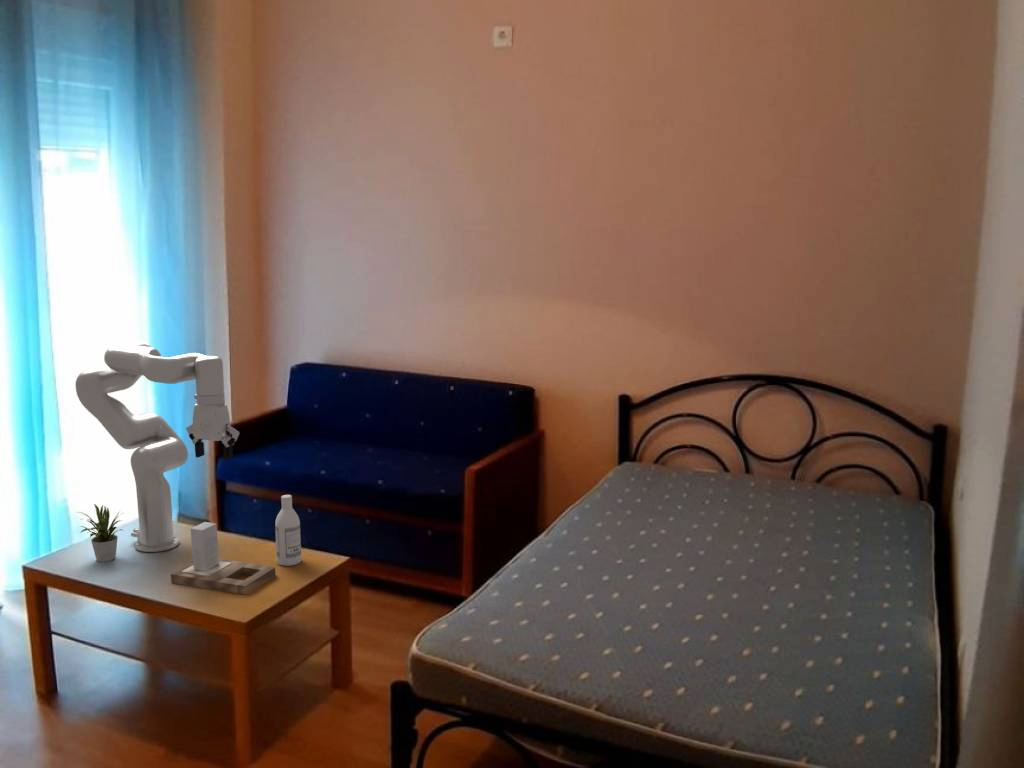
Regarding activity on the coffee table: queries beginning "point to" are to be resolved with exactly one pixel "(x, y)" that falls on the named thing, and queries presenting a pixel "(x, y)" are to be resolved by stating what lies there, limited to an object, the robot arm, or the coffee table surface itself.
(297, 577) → the coffee table surface
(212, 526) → the skincare box
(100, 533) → the house plant
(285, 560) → the bath foam
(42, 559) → the coffee table surface
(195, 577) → the walnut frame
